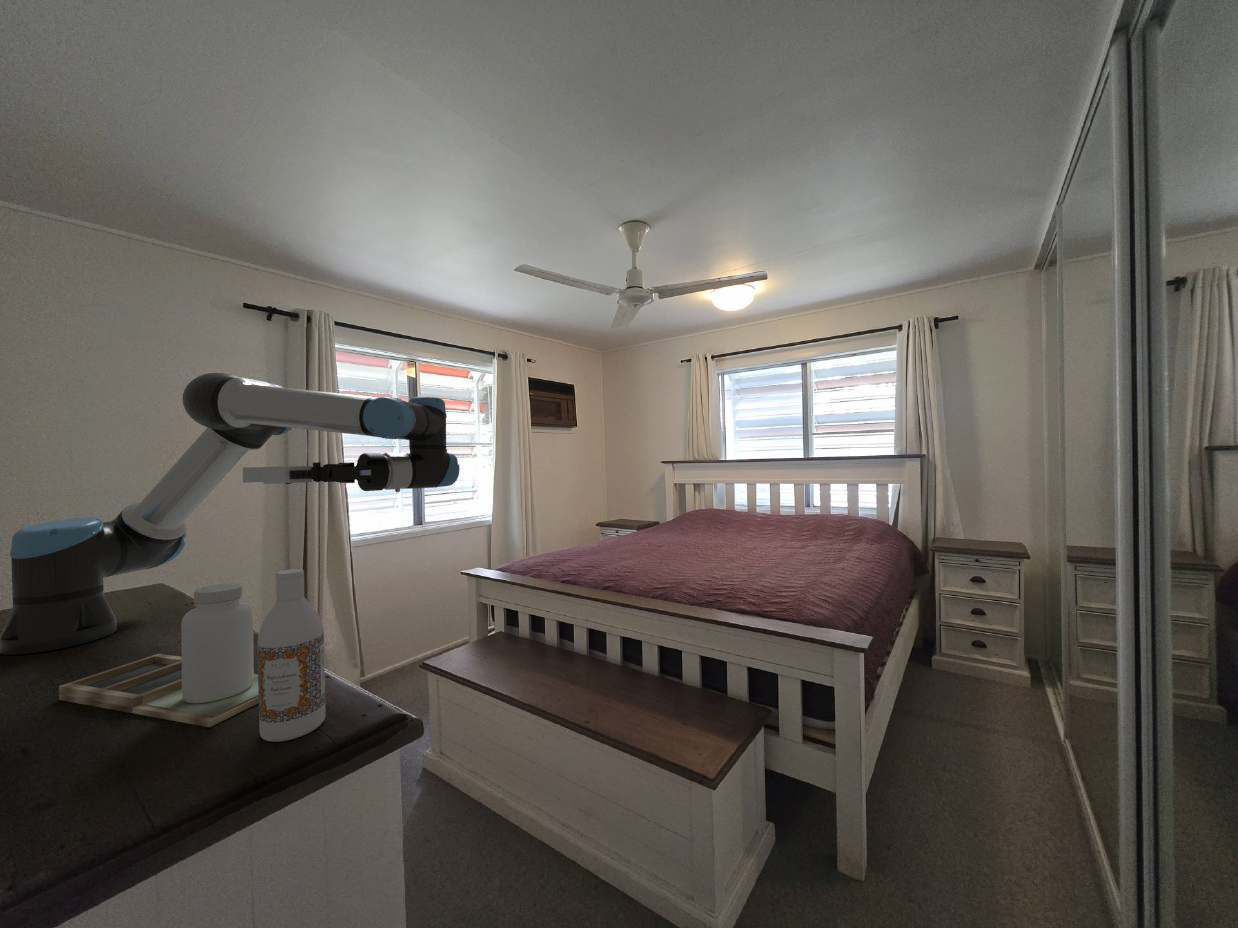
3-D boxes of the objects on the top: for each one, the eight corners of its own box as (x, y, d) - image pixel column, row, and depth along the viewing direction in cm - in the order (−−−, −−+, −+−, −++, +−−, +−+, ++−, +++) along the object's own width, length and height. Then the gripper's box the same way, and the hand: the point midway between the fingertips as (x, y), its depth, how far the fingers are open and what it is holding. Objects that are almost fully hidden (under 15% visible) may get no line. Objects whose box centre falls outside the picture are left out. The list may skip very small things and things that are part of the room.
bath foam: (247, 747, 57) (243, 579, 56) (275, 717, 63) (272, 567, 63) (313, 739, 58) (309, 575, 58) (333, 710, 65) (330, 563, 65)
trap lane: (59, 699, 69) (59, 685, 69) (158, 665, 81) (158, 653, 81) (209, 727, 61) (209, 711, 61) (295, 684, 73) (295, 671, 73)
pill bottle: (266, 684, 71) (264, 583, 71) (200, 710, 64) (198, 597, 64) (236, 675, 74) (233, 578, 74) (170, 698, 67) (167, 592, 67)
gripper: (412, 491, 88) (274, 500, 72) (358, 488, 104) (236, 495, 88) (411, 451, 88) (273, 450, 72) (357, 454, 104) (235, 454, 88)
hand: (252, 475), depth 80 cm, fingers open, 13 cm apart
